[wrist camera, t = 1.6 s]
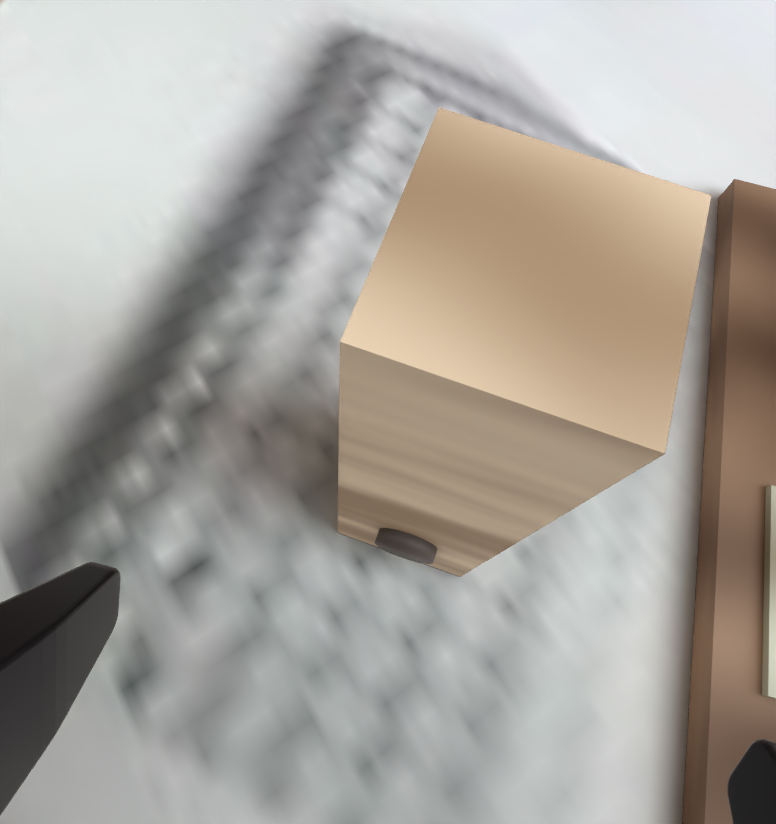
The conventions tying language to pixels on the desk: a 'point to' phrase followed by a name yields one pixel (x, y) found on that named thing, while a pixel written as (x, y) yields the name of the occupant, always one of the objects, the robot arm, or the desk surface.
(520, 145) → the tan wood post
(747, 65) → the desk surface
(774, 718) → the base board
